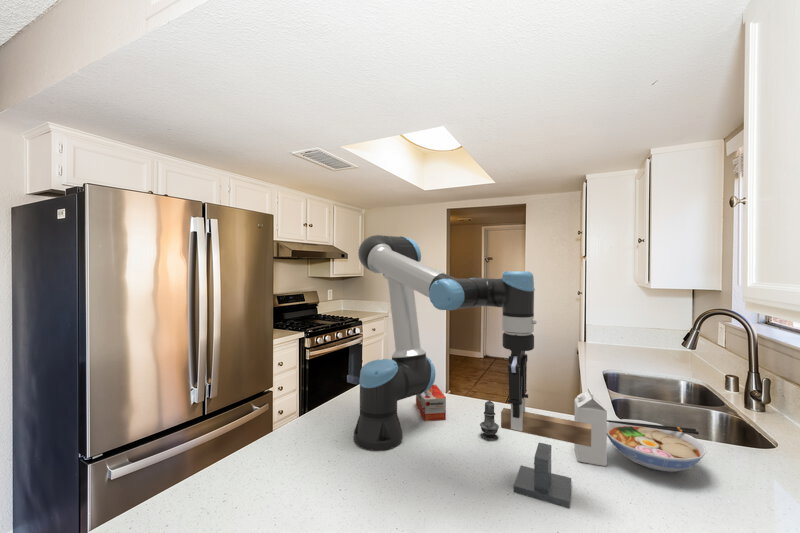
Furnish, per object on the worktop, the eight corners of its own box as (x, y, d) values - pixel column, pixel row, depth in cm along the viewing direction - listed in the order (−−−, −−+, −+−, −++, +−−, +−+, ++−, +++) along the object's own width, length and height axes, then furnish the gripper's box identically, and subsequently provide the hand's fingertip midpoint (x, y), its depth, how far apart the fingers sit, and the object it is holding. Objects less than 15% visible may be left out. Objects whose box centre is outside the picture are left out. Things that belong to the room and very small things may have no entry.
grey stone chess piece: (499, 442, 109) (499, 403, 109) (479, 440, 111) (480, 401, 111) (498, 433, 115) (498, 396, 115) (479, 431, 116) (479, 394, 116)
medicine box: (415, 405, 139) (415, 384, 139) (435, 404, 140) (435, 383, 140) (424, 422, 124) (424, 399, 124) (446, 420, 125) (446, 397, 125)
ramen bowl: (608, 477, 92) (608, 445, 92) (593, 437, 113) (593, 411, 113) (731, 499, 83) (731, 464, 83) (689, 451, 104) (690, 423, 104)
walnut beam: (501, 427, 90) (501, 411, 90) (503, 423, 93) (503, 407, 93) (591, 447, 81) (591, 429, 80) (591, 441, 83) (591, 424, 83)
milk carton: (601, 454, 103) (601, 388, 103) (606, 467, 96) (607, 396, 96) (574, 449, 105) (574, 385, 105) (577, 462, 98) (577, 393, 98)
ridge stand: (513, 491, 85) (513, 454, 85) (520, 470, 94) (520, 436, 94) (569, 508, 80) (569, 467, 80) (571, 484, 88) (571, 447, 88)
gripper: (529, 339, 81) (529, 444, 81) (538, 329, 95) (538, 417, 95) (495, 336, 84) (495, 436, 84) (509, 326, 98) (509, 412, 98)
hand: (518, 426), depth 89 cm, fingers closed on walnut beam, 3 cm apart
